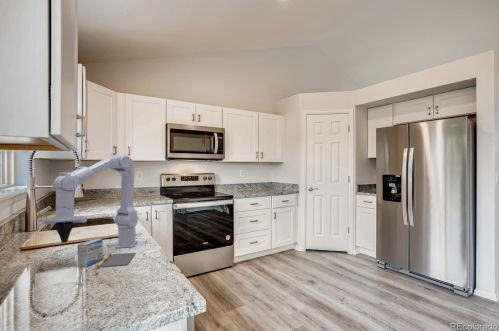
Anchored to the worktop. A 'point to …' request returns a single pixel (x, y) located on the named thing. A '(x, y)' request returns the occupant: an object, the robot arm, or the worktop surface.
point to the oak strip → (103, 261)
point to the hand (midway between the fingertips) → (64, 241)
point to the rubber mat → (119, 260)
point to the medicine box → (90, 252)
